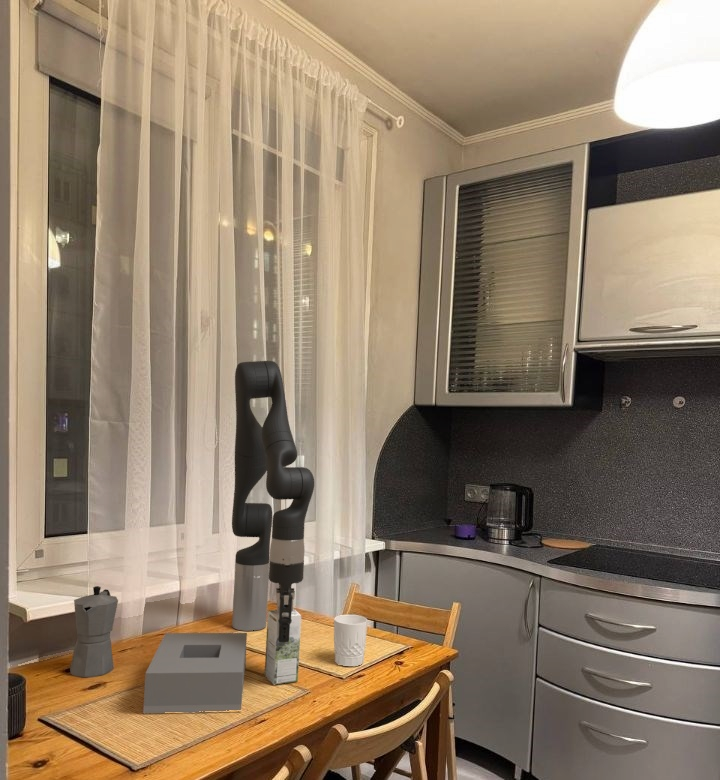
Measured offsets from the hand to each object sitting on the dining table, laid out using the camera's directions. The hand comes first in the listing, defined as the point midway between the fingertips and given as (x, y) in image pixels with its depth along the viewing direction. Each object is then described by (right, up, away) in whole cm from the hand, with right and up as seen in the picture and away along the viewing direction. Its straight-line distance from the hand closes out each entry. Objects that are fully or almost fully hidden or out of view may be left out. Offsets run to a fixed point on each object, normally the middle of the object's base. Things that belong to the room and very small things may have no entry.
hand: (283, 635), depth 142 cm
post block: (-17, -8, -7) cm, 20 cm away
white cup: (+14, -11, +12) cm, 21 cm away
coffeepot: (-42, -8, +2) cm, 43 cm away
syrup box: (0, -9, -1) cm, 9 cm away
